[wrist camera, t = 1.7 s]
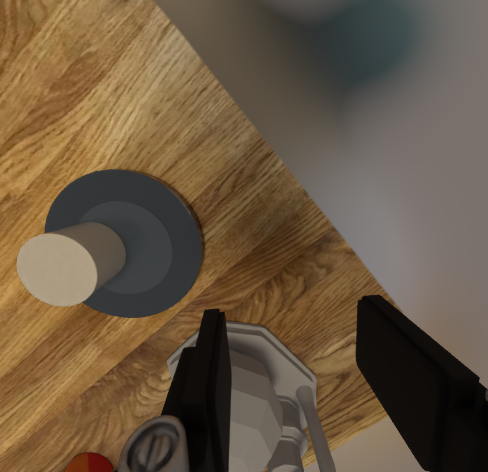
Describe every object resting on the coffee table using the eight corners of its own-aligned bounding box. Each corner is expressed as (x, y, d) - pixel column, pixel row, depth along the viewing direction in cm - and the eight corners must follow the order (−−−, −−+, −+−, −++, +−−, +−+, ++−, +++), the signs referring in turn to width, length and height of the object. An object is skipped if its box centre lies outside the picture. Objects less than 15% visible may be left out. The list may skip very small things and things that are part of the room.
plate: (37, 176, 24) (22, 176, 22) (193, 163, 24) (190, 162, 22) (76, 315, 28) (66, 324, 26) (211, 304, 28) (210, 312, 26)
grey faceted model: (147, 374, 30) (56, 569, 15) (233, 297, 28) (228, 437, 13) (255, 456, 34) (268, 678, 19) (339, 394, 32) (430, 591, 16)
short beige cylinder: (55, 224, 24) (5, 237, 19) (119, 218, 24) (86, 230, 19) (71, 283, 25) (29, 310, 20) (131, 278, 25) (104, 303, 20)
